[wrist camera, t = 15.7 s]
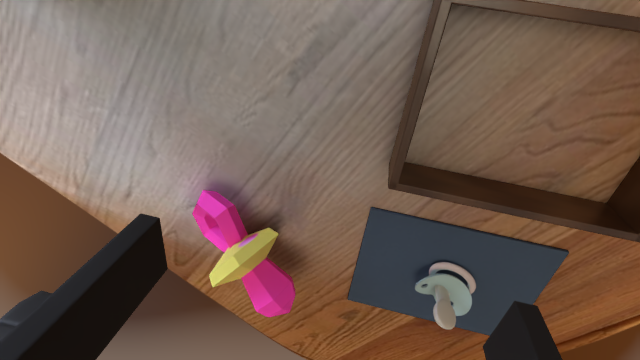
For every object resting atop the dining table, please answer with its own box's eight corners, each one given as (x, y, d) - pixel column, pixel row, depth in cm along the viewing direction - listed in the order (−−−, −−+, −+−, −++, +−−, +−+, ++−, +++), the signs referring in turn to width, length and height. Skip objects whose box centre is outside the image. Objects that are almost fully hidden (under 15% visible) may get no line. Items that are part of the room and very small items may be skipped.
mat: (347, 297, 46) (347, 299, 46) (371, 206, 38) (371, 208, 38) (506, 337, 44) (507, 340, 44) (567, 250, 36) (569, 252, 36)
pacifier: (442, 250, 39) (407, 276, 42) (452, 289, 33) (410, 316, 36) (486, 282, 40) (449, 306, 43) (502, 326, 35) (458, 350, 37)
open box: (388, 165, 35) (387, 188, 31) (436, -11, 27) (444, -12, 23) (610, 211, 33) (642, 243, 29) (738, 34, 25) (811, 42, 20)
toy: (242, 160, 40) (164, 205, 33) (335, 277, 39) (272, 345, 33) (224, 192, 48) (158, 232, 41) (301, 289, 47) (245, 345, 41)
